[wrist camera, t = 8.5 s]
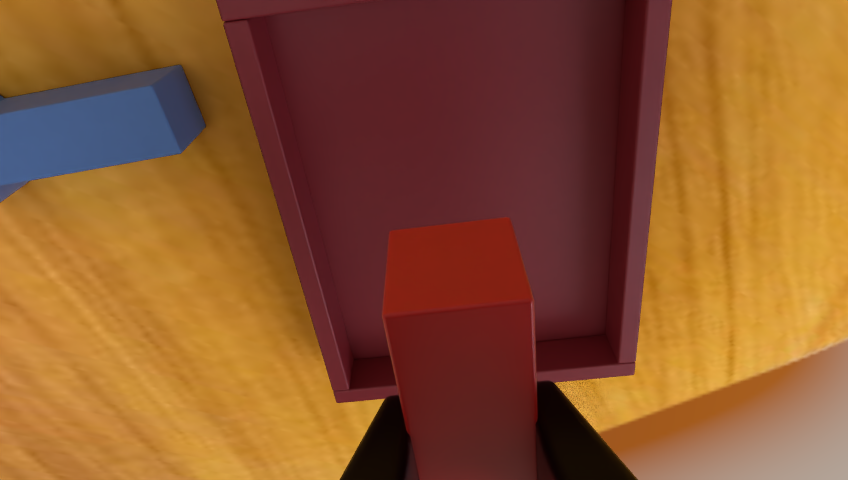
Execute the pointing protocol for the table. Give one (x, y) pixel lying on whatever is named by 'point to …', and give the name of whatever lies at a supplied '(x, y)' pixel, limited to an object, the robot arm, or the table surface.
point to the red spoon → (463, 349)
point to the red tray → (460, 156)
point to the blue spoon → (96, 125)
